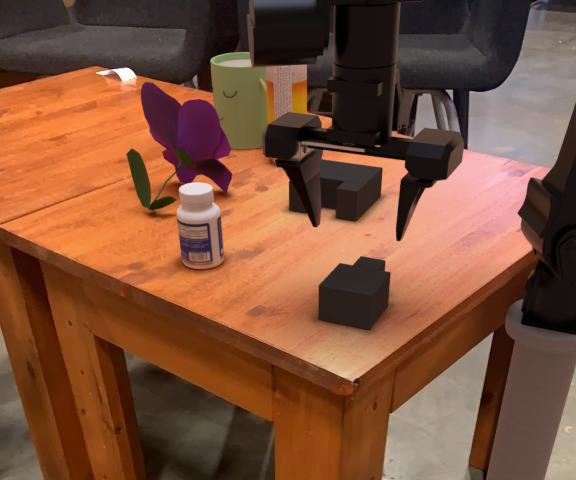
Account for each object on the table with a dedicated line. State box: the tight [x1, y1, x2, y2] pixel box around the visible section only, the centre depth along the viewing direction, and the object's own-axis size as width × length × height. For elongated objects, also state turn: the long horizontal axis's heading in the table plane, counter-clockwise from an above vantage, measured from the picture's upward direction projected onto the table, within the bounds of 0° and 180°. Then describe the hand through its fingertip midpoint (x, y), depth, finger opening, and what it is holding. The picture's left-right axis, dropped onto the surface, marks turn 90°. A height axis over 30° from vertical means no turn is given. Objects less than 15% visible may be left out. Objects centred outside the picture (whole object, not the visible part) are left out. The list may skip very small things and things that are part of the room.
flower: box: [126, 81, 233, 213], centre depth 106 cm, size 15×15×14 cm
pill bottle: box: [176, 181, 225, 270], centre depth 92 cm, size 5×5×9 cm
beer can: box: [266, 65, 308, 164], centre depth 117 cm, size 6×6×15 cm
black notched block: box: [288, 158, 384, 222], centre depth 107 cm, size 10×10×4 cm
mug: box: [209, 51, 268, 150], centre depth 125 cm, size 13×10×12 cm
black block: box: [317, 255, 392, 331], centre depth 84 cm, size 6×9×4 cm
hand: (357, 232), depth 79 cm, fingers open, 9 cm apart
